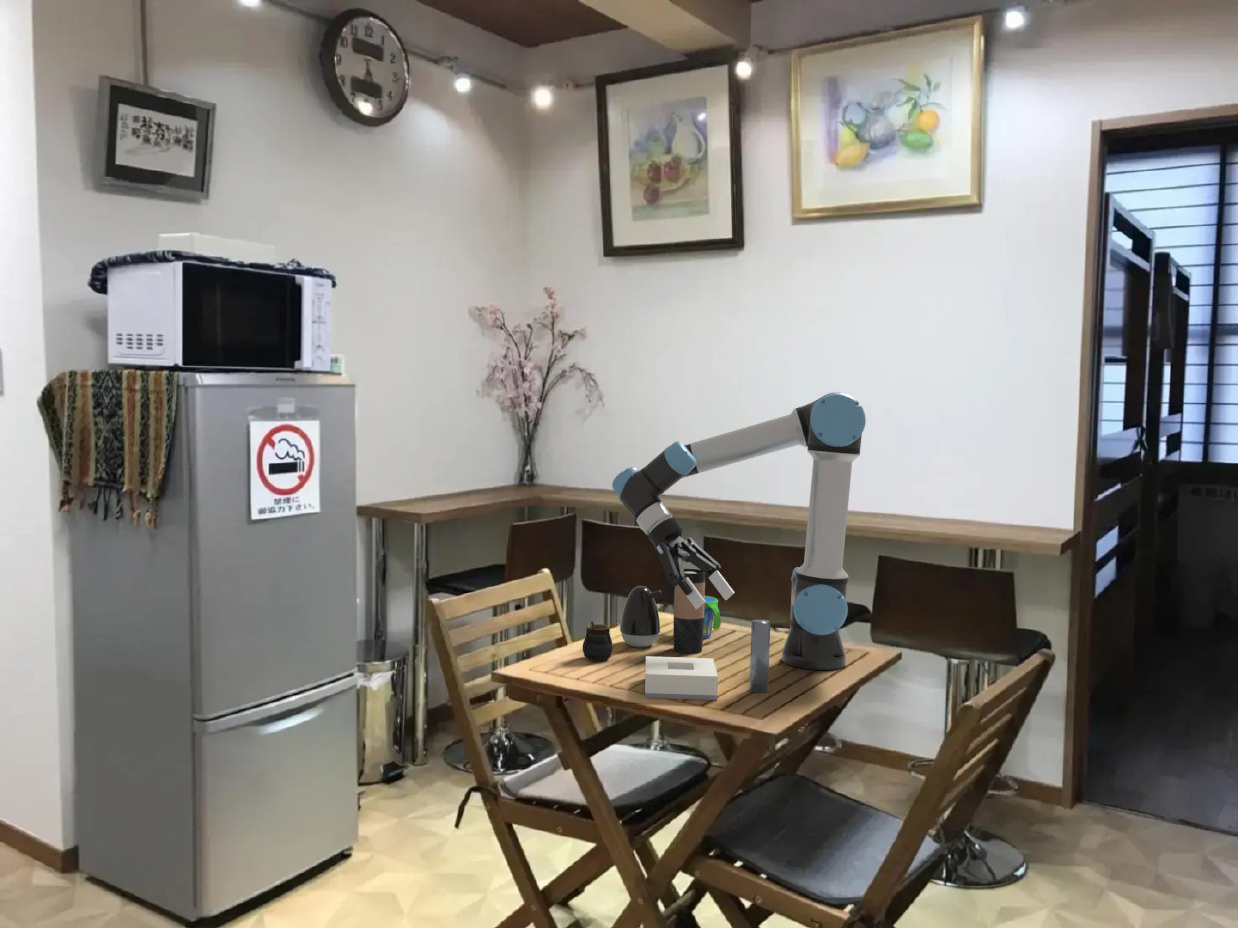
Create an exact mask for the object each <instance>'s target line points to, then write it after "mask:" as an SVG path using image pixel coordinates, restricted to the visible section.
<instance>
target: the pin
mask: <svg viewBox="0 0 1238 928" xmlns="http://www.w3.org/2000/svg"><path fill="white" fill-rule="evenodd" d="M750 626H751V631H750V657H749V658H750V661H749V684H748V685H749V687H748V690H749V692H752V693H756V694H765V693H766V694H767V693H768V692H769V678H770V677H769V671H770V669H769V668H770V645H771V643H770V640H771V621H770V620H767V619H753V620H751V625H750Z"/></svg>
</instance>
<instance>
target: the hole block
mask: <svg viewBox="0 0 1238 928" xmlns="http://www.w3.org/2000/svg"><path fill="white" fill-rule="evenodd" d="M644 677H645V679H644V680H645V682H644V685H645V686H644V698H645V699H667V700H668V699H669V700H671V699H673V700H694V701H695V700H698V701H699V700H700V701H718V691H719V690H718V689H719V688H718V686H719V676H718V671H717V667H716V662H715V659H714V658H707V657H705V658H704V657H683V656H681V657H679V656H677V657H674V656H649V655H648V656H647V655H646V656H645V675H644Z"/></svg>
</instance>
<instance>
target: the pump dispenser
mask: <svg viewBox="0 0 1238 928" xmlns="http://www.w3.org/2000/svg"><path fill="white" fill-rule="evenodd" d="M661 594H662V590H656V591H651V590H650V589H649V588H648V587H647V586H644V585H637V586H635V587H634V588H632V589H631V591H630V592H629V594H628V596H627V598H626V600H625V603H624V606H623V609H622V612H621V613H622V614H621V616H620V617H621V618H620V625H619V631H620V633H621V637H622V639H623V641H624V642H625V644H627V645H628V646H630V647H634V648H648V647H651V646H653V644H655V642H656V641H657V640H658V637H659V634H660V632H661V621H660V615H659V614H660V613H659V610H658V606H657V604H656V600H655V598H656V597H658V596H660V595H661Z"/></svg>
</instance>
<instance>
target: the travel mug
mask: <svg viewBox="0 0 1238 928" xmlns="http://www.w3.org/2000/svg"><path fill="white" fill-rule="evenodd" d="M683 570H684V575H685V578H684V579H686V578H689V579H690V581H691V582H692V583H693V585H694V586H695V587H696V589H697V590H698V591H699V593H700V594H701V595H702V597H703V598H704V600H705V596H706V595H705V593H706V591H705V589H706V573H705V572H703V571H702V570H700V569H699V568H683ZM673 593H674V594H673V596H674V598H673V652H675V653H676V652H677V653H680V654H687V655H693V654H699V653H702V651H703V643H704V642H703V641H704V639H703V628H704V603H703V604H702V605H701V606H700V607H699V608H698V609H695V607H694V606H693V605H692V603H691V602H690V601H689V599H688V598H687V596H686V595H685V594H684V592H683V591H682V590H681V588H680V587H679V586H678V585H677V586H676V587H674V592H673Z"/></svg>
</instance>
